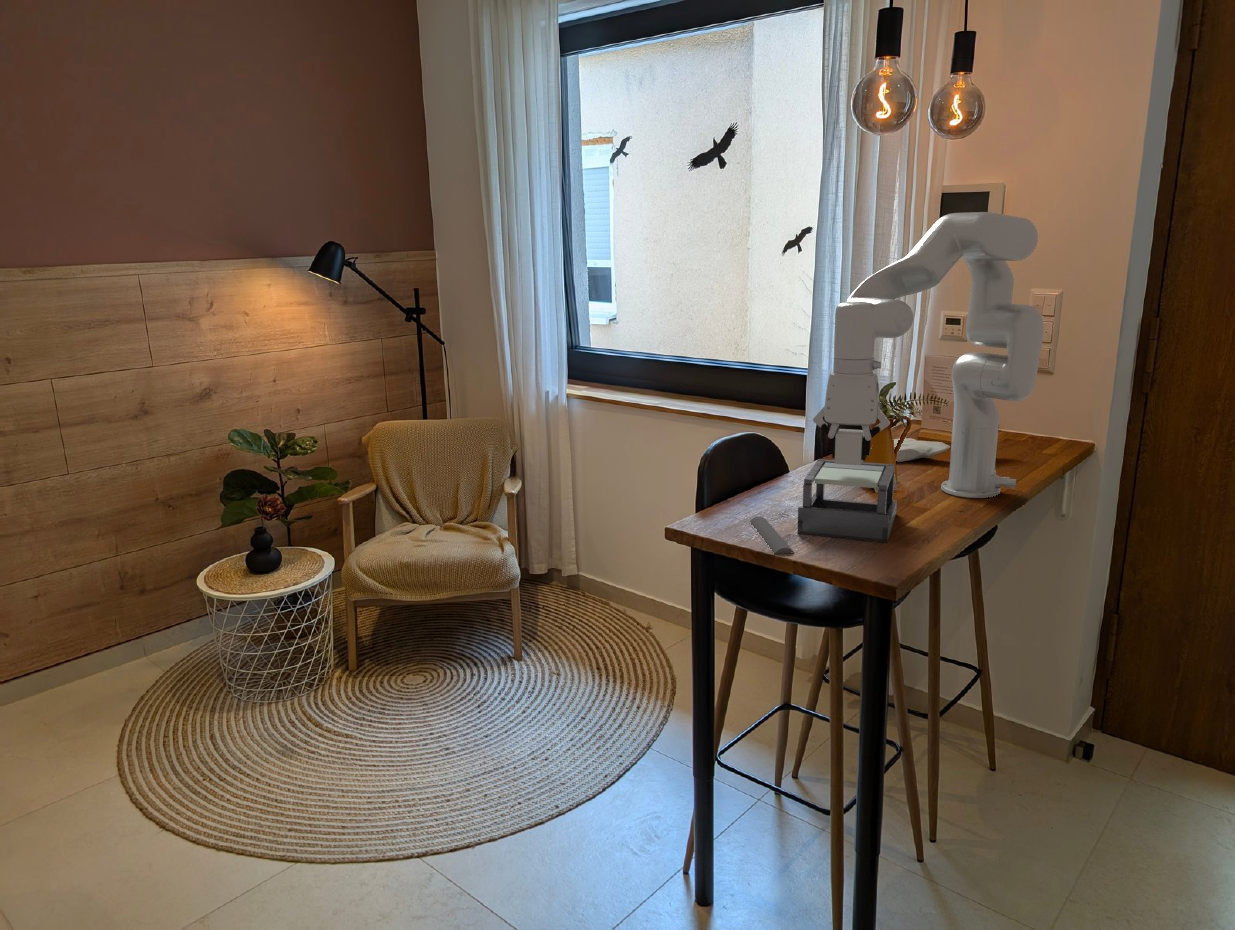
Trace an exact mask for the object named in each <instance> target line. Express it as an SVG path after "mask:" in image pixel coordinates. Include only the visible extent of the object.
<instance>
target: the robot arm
mask: <svg viewBox="0 0 1235 930" xmlns="http://www.w3.org/2000/svg"><path fill="white" fill-rule="evenodd" d="M1038 241H1039V233H1038V229H1037V227H1036V225H1035V224H1034V222H1033V221H1031V220H1030V219H1028V218H1026V217H1020V216H1015V215H1014V216H1013V215H1008V214H1004V213H997V212H992V211H991V212H988V211H979V212H976V211H975V212H972V211H970V212H953V213H947V214H946V215H943V216H941V217H940V218H938V219H937V220H936V221H935V222H934V223H933V224H932V226H931V227H930V228H929V229H928V230H927V232H926V233H925V234H924V235H923V236H922V238H921V239H920V240H919V241H918V242H917V244H915V246H913V248H912V249H911V250H910V251H909V252H908V254H906V256H905V257H902V258H901V259H899V260H897V261H895V262H893V263H891V264H889V265H888V266H886V267H884V268H882V269H880V270H878V271H877V272H875V273H873V274H872V275H871V274H870V276H868V277H867V278H866V279H865V280H863V281H862V282H861V283H860V284H859V285H858V286H857V287H856V289H855V290H854V291H853V292H852V293H851V294H850V295H849V297H848V298H847V299H846V301H845V302H844V301H843V302H841V303H838V305H837V306H836V308H835V313H834V339H833V340H834V343H833V366H832V367H833V368H832V371H831V372H830V373H829V376H828V380H827V384H826V391H825V399H824V400H825V401H824V406H823V407H822V408H821V410H820V411H818V413H817V414H816V415H815V416H814V417H813V418H812V421H813V423H815V424H816V425H817V426H818V427H819V428H821V430H822V431H823V432H824V433H825V434H826V435H827V437H828V438H829V454H831V455H832V456H831V458H832V459H835V440H836V433H837V432H838V430H839V426H840V425H841V426H842V425H843V426H861V428H862V429H861V430H863V433H864V439H863V441H862V460H863V461H866V459H867V458H868V457H867V456H870V449H871V447H872V446H871V443H872V442H871V441H872V439H873V438H874V437H875V436H876V435H877V434H879V433H880V432H882V431H883V430H884V429H885V428H888V426H890V424H891V421H890V420H889V418H887V416H886V414H885V413H884V412H883V411H882V409H881V408H880V384H879V377H878V373H877V372H874V371H875V370H877V369H882V361H878V360H876V359H875V344H876V343H875V341H876V339H877V338H878V339H879V338H881V339H884V338H885V339H896V338H900V337H902V336H904V335H906V333H908V331H910V329H911V327H912V325H913V322H914V313H913V310H912V308H911V307H910V305H908V303H906V302H905V301H903V300H901V299H900V298H902V297H907V296H911V295H914V294H919V293H921V292H925V291H928V290H930V289H932V288H934V287H936V286H938V285H939V284H940V283H941V282H942V280H943V279H944V278H945V277H946V276H947V274H948V273H949V272H950V271H951V269H952V268H953V267H954V266H955V264H956V263H958V262H959V260H960V259H961V258H962V260H963V262H964V263H965V264H966V266H967V269H968V271H969V274H970V279H971V286H970V295H969V302H968V310H967V317H966V325H965V335H966V339H967V341H968V342H969V343H971V344H973V345H976V346H980V347H986V348H987V347H988V348H994V349H995V348H996V349H1004V350H1005V349H1007V351H1008V352H1007V355H1006V354H999V353H989V352H977V351H976V352H968V353H964V354H962V355H961V356H959V357H958V358H957V359H956V360H955V361H954V363H953V366H952V369H951V383H952V390H953V391H952V392H953V420H952V431H951V432H952V433H951V445H950V446H951V447H950V459H949V471H948V472H949V473H948V474H949V475H948V480H945V481H942V483H941V484H940V486H941V487H940V489H941V490H942V491H943V492H944V493H946V494H948V495H952V496H956V497H961V498H969V499H985V498H986V499H987V498H988V497H989V498H993V496H994V497H997V496H998V494H999V495H1000V493H1001V487H1006V488H1016V486H1017V479H1016V478H1011V477H1009V476H1000V475H997V471H996V460H997V459H996V458H997V448H998V447H997V445H998V437H999V436H998V435H999V429H998V426H999V427H1000V415H999V414H1000V413H999V410H998V407H997V404H996V402H995V400H994V399H996V400H1003V401H1010V402H1021V401H1024V400H1026V399H1027V398H1028V397H1030V395H1031V394H1032V393H1033V390H1034V387H1035V384H1036V381H1037V375H1038V370H1039V365H1040V357H1041V351H1042V345H1043V338H1044V332H1045V331H1044V330H1045V329H1044V327H1045V325H1044V318H1043V316H1042V314H1041V312H1040V311H1039V309H1038V308H1036V307H1035V306H1032V305H1028V304H1021V303H1020V304H1017V303H1013V294H1014V286H1015V285H1014V284H1015V281H1014V280H1015V279H1014V275H1013V272H1012V269H1011V268H1010V266H1009V264H1008V263H1007V262H1018V261H1019V262H1020V261H1023V260H1026V259H1027V258H1028V257H1030V256H1031V255H1032V254H1033V252H1035V249H1036V248H1037V245H1038ZM899 299H900V300H899ZM823 418H824V419H823ZM877 420H879V423H878V424H877V425H875V424H876V422H877ZM828 423H829V424H828ZM873 425H875V426H874V427H872V426H873ZM996 495H997V496H996Z"/></svg>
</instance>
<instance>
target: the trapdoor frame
mask: <svg viewBox="0 0 1235 930" xmlns="http://www.w3.org/2000/svg"><path fill="white" fill-rule="evenodd" d="M826 462H827V463H835V459H821V458H818V459H817V461H816V462H815V463H814V465H813V466H812V468H811V469H810V470H809V472H808V473H807V474H806V475H805V477H804V479H803V484H802V485H803V486H802V488H803V489H802V505H798V508H797V534H798V535H807V536H817V537H826V538H834V539H835V538H836V539H847V540H857V541H864V542H865V541H867V542H874V543H875V542H877V543H888V541H889V538H890V535H891V532H892V528H893V524H894V522H895V518H896V515H897V506H898V505H897V503H898V502H897V501H898V500H897V499H894V485H895V469H896V464H894V463H883V462H882V463H881V462H868V461H867V462H865V461H863V462H862V464H861V465H869V466H883V467H884V474H883V476H882V478H881V481H880V482H879V485H878V491H877V503H876V502H866V501H856V500H855V501H853V500H842V499H831V498H825V485H826V484H817V483H815V477H816V476H817V474H818V473H819V471H820V470H821V468H822V467H823V465H824V464H825V463H826ZM813 483H815V484H816V486H815V488H816V489H815V493H813Z"/></svg>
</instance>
